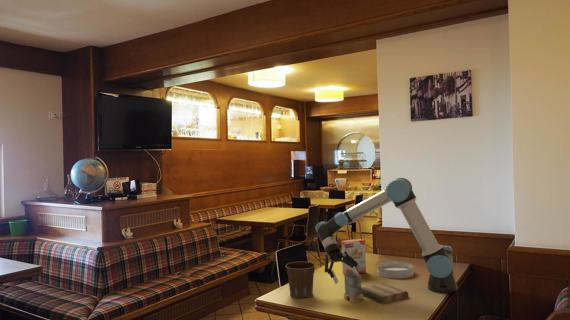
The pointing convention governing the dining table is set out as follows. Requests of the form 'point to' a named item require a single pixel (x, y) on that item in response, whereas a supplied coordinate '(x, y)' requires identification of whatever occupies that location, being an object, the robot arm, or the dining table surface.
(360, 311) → the dining table surface
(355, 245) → the cracker box
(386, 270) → the dish
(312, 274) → the plant pot
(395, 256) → the dining table surface
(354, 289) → the grey upright cylinder
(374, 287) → the block
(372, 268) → the dining table surface
